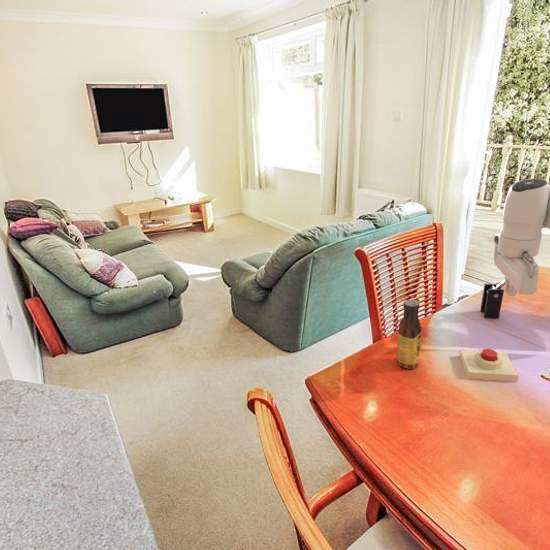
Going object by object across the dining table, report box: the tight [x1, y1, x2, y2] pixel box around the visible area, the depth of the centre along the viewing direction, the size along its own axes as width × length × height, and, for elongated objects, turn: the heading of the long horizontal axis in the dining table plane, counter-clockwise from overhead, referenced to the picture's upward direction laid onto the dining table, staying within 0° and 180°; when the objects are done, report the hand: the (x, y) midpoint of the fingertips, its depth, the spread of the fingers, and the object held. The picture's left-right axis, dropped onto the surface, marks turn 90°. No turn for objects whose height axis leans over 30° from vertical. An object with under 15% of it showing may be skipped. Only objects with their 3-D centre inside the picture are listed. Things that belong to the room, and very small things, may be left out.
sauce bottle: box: [396, 299, 423, 370], centre depth 105 cm, size 6×6×20 cm
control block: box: [459, 349, 520, 383], centre depth 103 cm, size 12×10×4 cm
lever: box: [487, 278, 506, 293], centre depth 121 cm, size 12×5×2 cm
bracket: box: [479, 282, 505, 320], centre depth 125 cm, size 12×9×12 cm
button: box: [481, 348, 498, 361], centre depth 102 cm, size 4×4×2 cm
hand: (510, 293), depth 100 cm, fingers closed
